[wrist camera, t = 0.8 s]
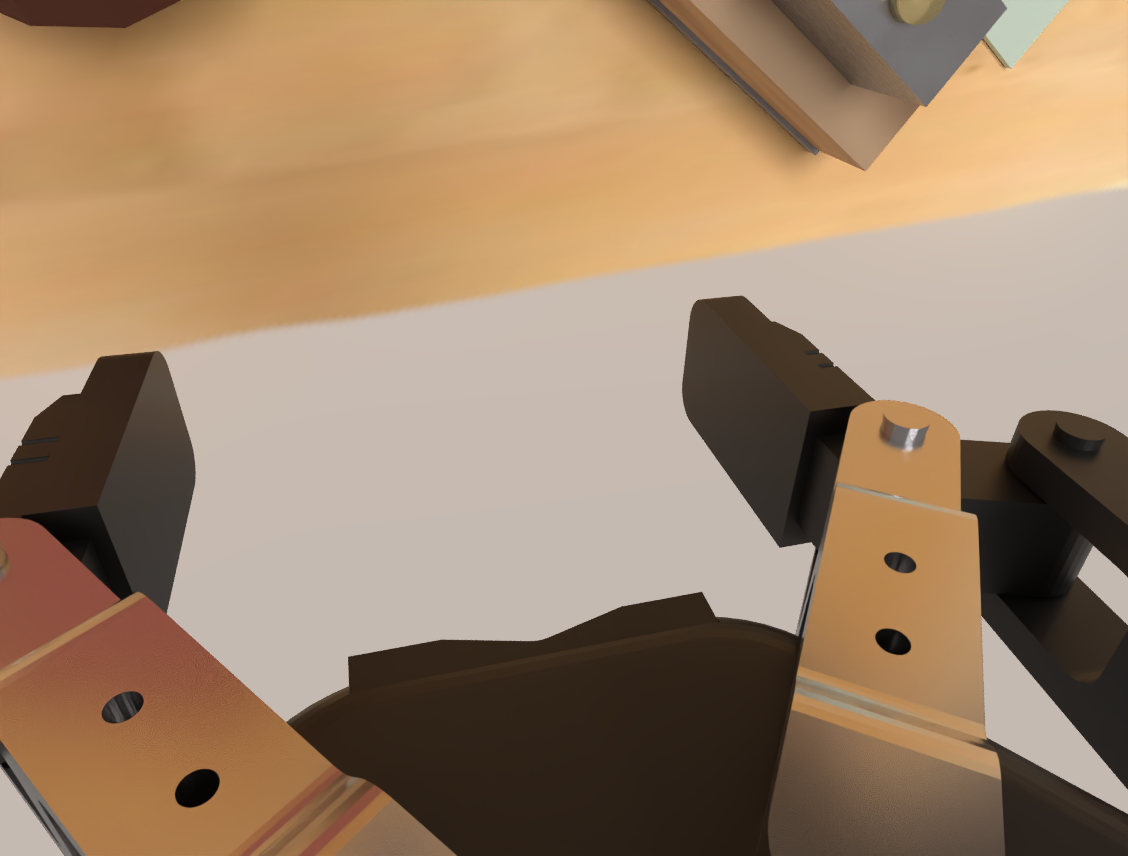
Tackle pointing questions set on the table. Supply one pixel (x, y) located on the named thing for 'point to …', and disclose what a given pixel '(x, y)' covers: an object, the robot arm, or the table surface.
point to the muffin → (82, 12)
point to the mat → (1020, 27)
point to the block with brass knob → (895, 40)
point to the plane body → (790, 77)
